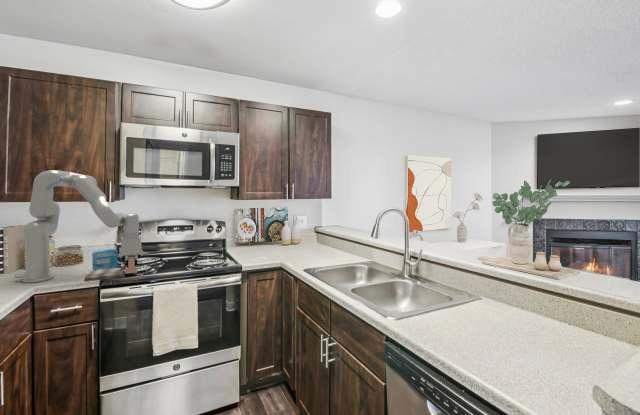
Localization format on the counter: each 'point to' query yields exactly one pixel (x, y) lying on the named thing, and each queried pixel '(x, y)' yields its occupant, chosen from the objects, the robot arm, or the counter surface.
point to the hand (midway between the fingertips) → (131, 266)
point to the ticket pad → (104, 274)
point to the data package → (105, 259)
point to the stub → (131, 266)
